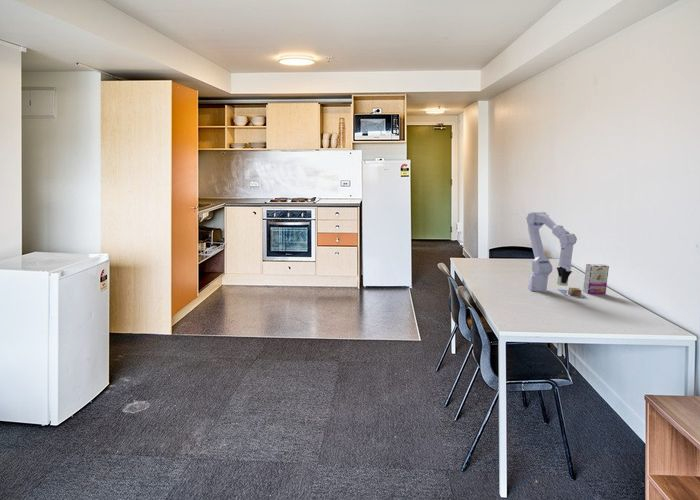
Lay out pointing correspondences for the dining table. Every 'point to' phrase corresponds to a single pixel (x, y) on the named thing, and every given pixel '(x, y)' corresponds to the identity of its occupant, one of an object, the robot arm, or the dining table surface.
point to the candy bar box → (595, 278)
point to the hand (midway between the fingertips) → (562, 282)
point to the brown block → (574, 292)
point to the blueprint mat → (568, 294)
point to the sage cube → (561, 282)
